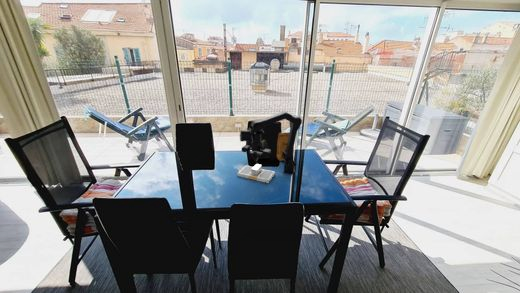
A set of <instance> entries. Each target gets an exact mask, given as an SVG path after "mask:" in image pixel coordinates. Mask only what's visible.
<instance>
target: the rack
mask: <svg viewBox="0 0 520 293" xmlns="http://www.w3.org/2000/svg"><path fill="white" fill-rule="evenodd" d="M253 167H254V166H250V165H248V164H245V165H244V166H243V167H242V168H241V169H240V170H239V171H238V172H237V176H238V177H241V178H245V179H250V180H255V181H257V182H262V183H265V182H266V184H269V183H270V182H271V181H272V179H273V178H272V177H274V176H275V174H276V172H275V171H273V170H270V169H269V170H268V169H264V168H262V172H261V173H260V174H259V176H258V177H257V176H252V175H251V169H252V168H253ZM269 181H270V182H269Z"/></svg>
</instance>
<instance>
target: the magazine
mask: <svg viewBox="0 0 520 293" xmlns="http://www.w3.org/2000/svg"><path fill="white" fill-rule="evenodd" d="M261 141H262V143H264V148H263V147H262V149H261V150H265V149H269V146H268V143H267V140H265V139H263V140H262V139H261ZM269 158H270V155H269V156H268V157H267V156H263V155H260V156H259V159H260V160H261V159H269ZM259 159H258V160H259Z"/></svg>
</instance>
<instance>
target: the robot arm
mask: <svg viewBox="0 0 520 293" xmlns="http://www.w3.org/2000/svg"><path fill="white" fill-rule="evenodd" d="M283 120H287V121H288V124H289V131H288V132H289V137H288V142H287V147H286V150H285V151H283V152H282V158H283V162H285V163H284V165H283V166H284V167H283V174H288V175H294V173H295V172H296V168H295V167H296V166H297V162H296V161H295V160H294V155H293V148H295V142H296V138H297V133H298V131H299V130H300V128H301V126H302V123H303V120H302V119H301V117H299V116H298V115H296V114H293V115H292V114H291V113H288V112H287V111H285V110H283V111H282V112H280V113H276V114H274V115H271V116H269V117H266V118H258V119H253V120H252V121H251V124H250V126H249V127H248V129H246V130H242V129H241V130H240V133H239V141H240V142H250V141H251V143H250V144H249V145H247V144H245V145H244V146H242V147H241V152H242V153H247V152H248V151H249V155H250V156H251V157H252V159H253V161H254V163H256V164H258V162H259V161H258V160H259V156H260V155H263V156H267V157H268V156H269V157H270V156H271V155H272V150H271V149H265V150H261V149H262V147H263V148H264V143H262V135H264V134H265V132H264V129H265V128H266V127H267V126H270V125H272V124H275V123H278V122H280V121H283Z"/></svg>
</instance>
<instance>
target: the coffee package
mask: <svg viewBox="0 0 520 293" xmlns="http://www.w3.org/2000/svg"><path fill="white" fill-rule="evenodd" d="M289 132H290V131H288V132H286V131H285V132H279V133H278V137H277V144H276V159H277V160H278V161H279V162H281V161H283V162H284V160H283V158H282V152H283V151H285V150H286V147H287V142H288V137H289ZM294 148H295V147H294ZM294 148H293V155H294V153H295V149H294Z"/></svg>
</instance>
